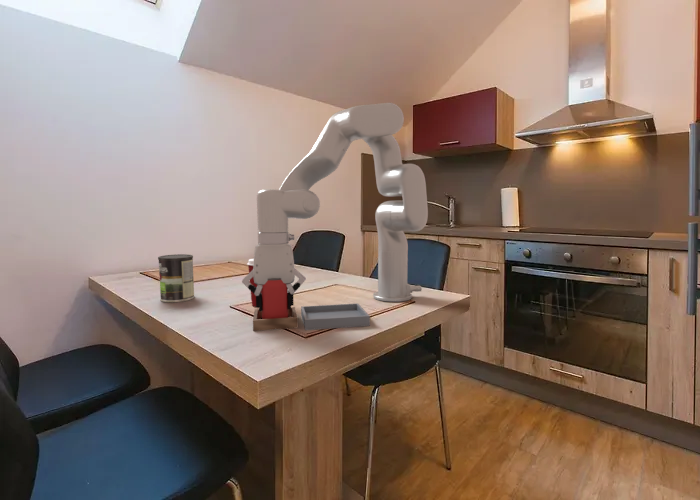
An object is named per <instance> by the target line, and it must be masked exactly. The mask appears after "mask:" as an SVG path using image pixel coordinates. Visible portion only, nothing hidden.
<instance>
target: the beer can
mask: <svg viewBox="0 0 700 500" xmlns="http://www.w3.org/2000/svg"><path fill="white" fill-rule="evenodd" d="M267 280H268V281H267V282H266V283H265V284H264V285H263V287H262V289H261V295H262V319H272V318H289V317H288V288H287V286H286V284H284V283H283V281H282V280H281V278H276V279H267Z"/></svg>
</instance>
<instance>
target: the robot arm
mask: <svg viewBox="0 0 700 500" xmlns="http://www.w3.org/2000/svg"><path fill="white" fill-rule="evenodd" d="M404 119H405V118H404V113H403V110H402V109H401V107H399V106H398V104H395V103H393V102H383V103H382V102H381V103H376V104H375V103H371V104H363V105H356V106H351V107H349V108H345V109H343V110H339V111H337V112H335V113H334V114H332V116H330V117H329V119H328V121H327V122H326V123H325V126H324V127H323V129H322V130H321V132H320V134H319V136H318V138H317V140H316V142H314V144H313V146H312V148H311V149H310V151H309V153H307V154H306V155H305V156H304V157H303V158H302V159H301V161H300V162H299V163H298V164H297V165H296V166H294V168H293V169H292V170H291V171H290V172H289V174H287V176H286V177H285V179H284V180H283V182H282V183H281V186H279V189H276V188H275V189H260V190H259V191H257V194H256V209H257V211H256V213H257V214H256V217H257V219H256V220H257V244H255V245H254V251H253V259H254V265H253V270H252V271H251V272H250V273H249V272H248V274H247V275H246V276H244V277H243V278H242V280H241V283H242V284H243V285H244V286H245V287H247V289H248V290H249V291H250V293H251V292H253V293H254V294H255V296H256V307H255V308H258V309H259V311H262V295H261V289H262V287H263V285H264V284H265V283H266V282H267V281H268V280H267V279H276V278H281V280H282V281H283V283H284V284H286V286H287V288H288V309H289V310H291V307H294V294H295V293H296V291H297V290H298V289H299V288H300V287H301V286H302V285H303V283H305V281H306V276H304V275H303V273H301V272H300V271H299V270H297V269H296V268H295V259H294V258H295V257H294V252H293V246H292V244H291V243H289V242H290V241H293V240H295V234H292V233H290V232H289V219H296V220H306V219H311V218H313V217H314V216H315V215H316V214H318V212H319V211H320V207H321V201H320V198H319V196H318V195H317V194H316V193H315V192H313V191H312V190H311V188H312V187H313V186H314V185H315V184H317V183H318V182H319V181H321V180H323V179H325V178H326V177H329V176H330V175H331V174H332V173H334V172H335V171H337V169H338V168H339V166H340V164H341V163H342V160H343V158H344V157H345V154H346V153H347V151H348V150H349V147H350V146H351V145H352V143H353V141H358V140H363V141H364V142H365V143H366V144H367V146H368V147H369V148H370V150H371V153H372V156H373V161H374V162H373V163H374V172H375V180H376V181H375V182H376V188H377V190H378V191H377V192H378V193H379V194H380V195H382V196H383V197H402V198H401V199H402V200H399V199H398V200H387V201H383V202H382V203H380V204H379V205H378V207H377V208H376V210H375V213H374V215H375V225H376V229H377V230H376V231H377V238H378V239H377V242H378V243H377V244H378V246H377V248H378V251H377V255H378V256H377V262H378V263H377V264H378V265H377V269H378V270H377V291H375V292H374V293H373V295H372V296H373V298H374V299H375V300H378V301H382V302H392V303H395V302H396V303H397V302H406V301H410V300H411V299H412V298H413V295H412V293H413V292H422V289H423V288H422V286H421V285H414V284H413V285H412V284H409V283H408V262H409V259H408V255H409V254H408V251H409V246H408V243H409V242H408V239H407V237H406V234H405V232H419V231H421V230H423V229H424V228H425V226H426V224H427V222H428V216H429V209H428V196H427V184H426V178H425V174H424V172H423V170H422V168H421V167H420V166H419V165H418V164H417V165H416V164H414V163H403V160H402V159H403V158H402V154H401V153H402V152H401V148H400V145H399V143H398V141H397V140H396V138H395V137H394V136H393V135H395V134H397V133H398V132H400V131H401V129H402V128H403V125H404V122H405V120H404ZM253 276H254V283H255V284H257V287H255V286H254V285H253V284H251V283H250V279H251V278H252V277H253ZM295 277H297V281H296V282H295V283H294V281H295ZM293 283H294V284H293Z"/></svg>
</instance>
